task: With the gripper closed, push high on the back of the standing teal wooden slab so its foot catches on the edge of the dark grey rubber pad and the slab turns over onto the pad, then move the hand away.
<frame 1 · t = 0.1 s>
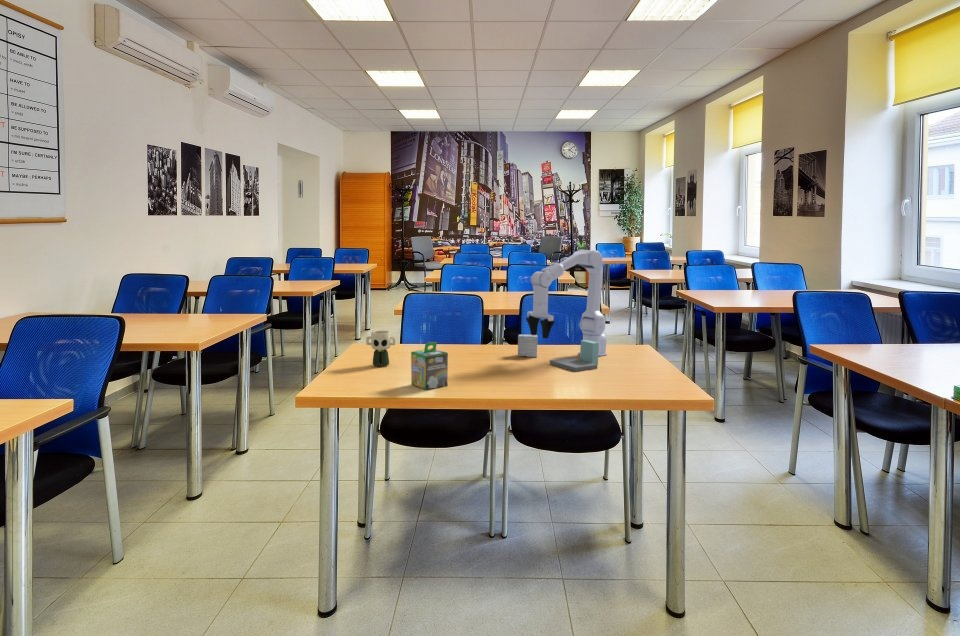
hand: (539, 336, 251), 10 cm above the table, tool pointing down, fingers open, 7 cm apart
character mug: (381, 366, 242), on the table
teal slab: (588, 364, 250), on the table
medicine box: (527, 356, 264), on the table
chalk box: (429, 386, 213), on the table
rubber pad: (573, 366, 246), on the table
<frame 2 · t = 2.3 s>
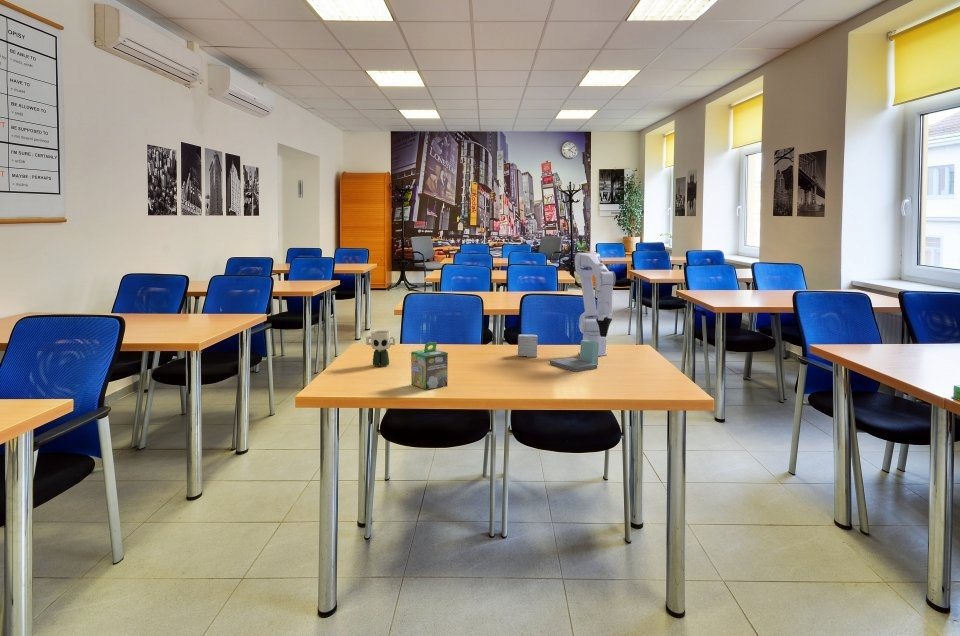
hand: (603, 336, 252), 10 cm above the table, tool pointing down, fingers closed
nothing on the table moved.
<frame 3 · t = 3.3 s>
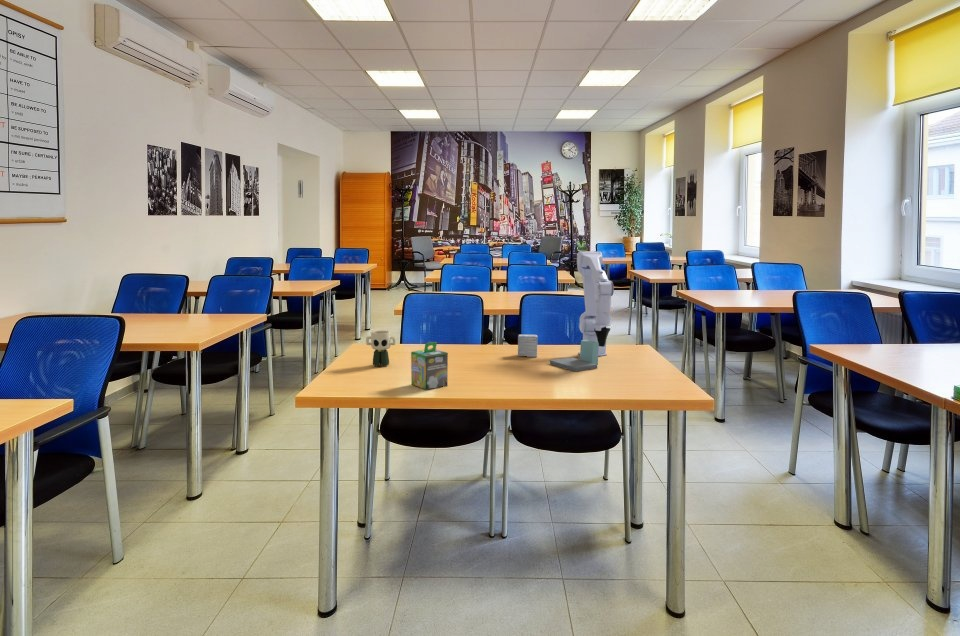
hand: (601, 346, 252), 7 cm above the table, tool pointing down, fingers closed
nothing on the table moved.
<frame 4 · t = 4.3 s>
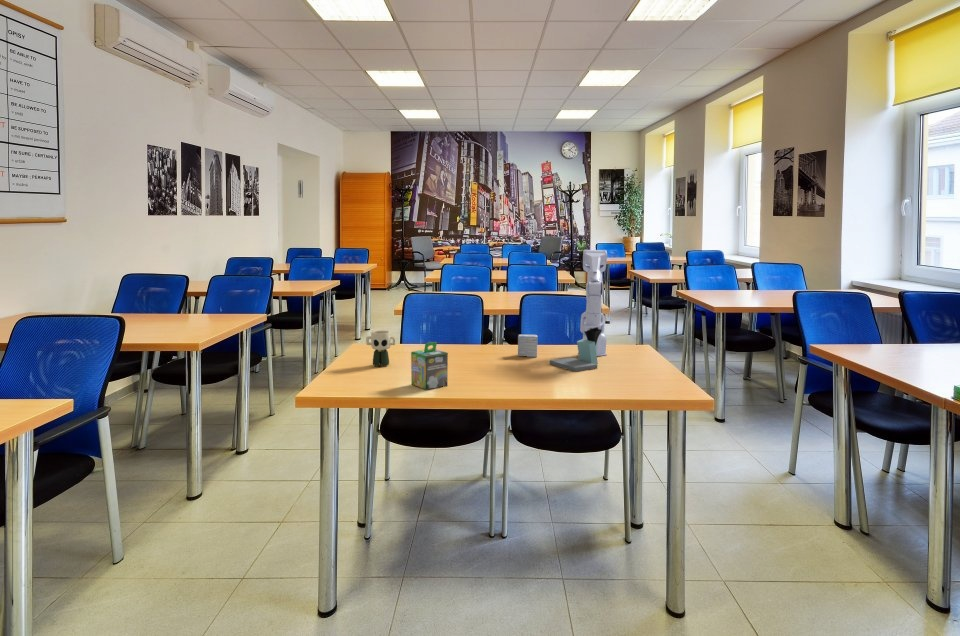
hand: (592, 347, 250), 7 cm above the table, tool pointing down, fingers closed
teal slab: (588, 363, 250), on the table, tilted 13°
everything else where it was.
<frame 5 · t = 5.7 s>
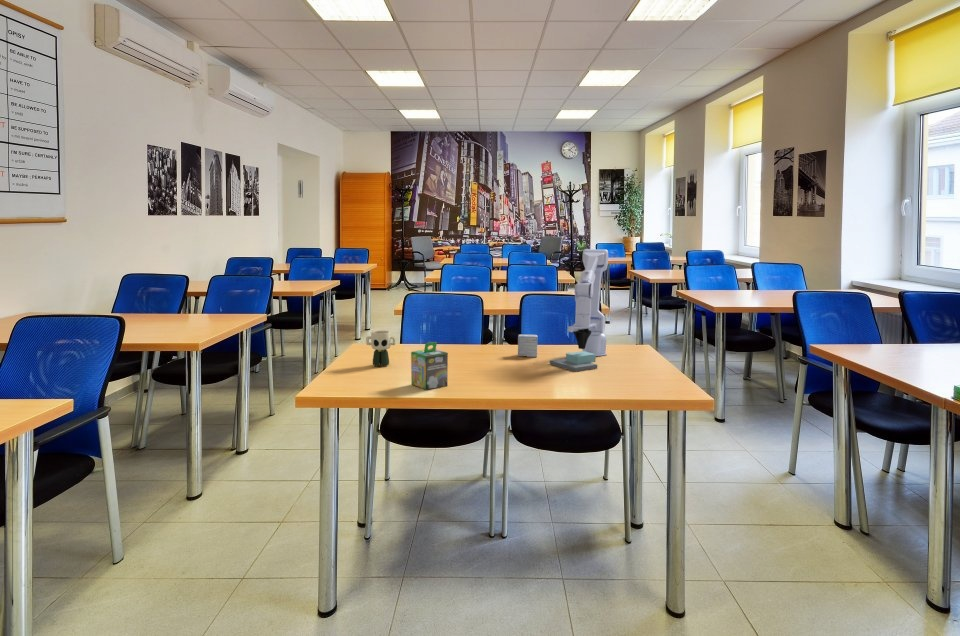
hand: (581, 348, 247), 6 cm above the table, tool pointing down, fingers closed
teal slab: (589, 356, 250), point 3 cm above the table, tilted 90°, touching rubber pad
everything else where it was.
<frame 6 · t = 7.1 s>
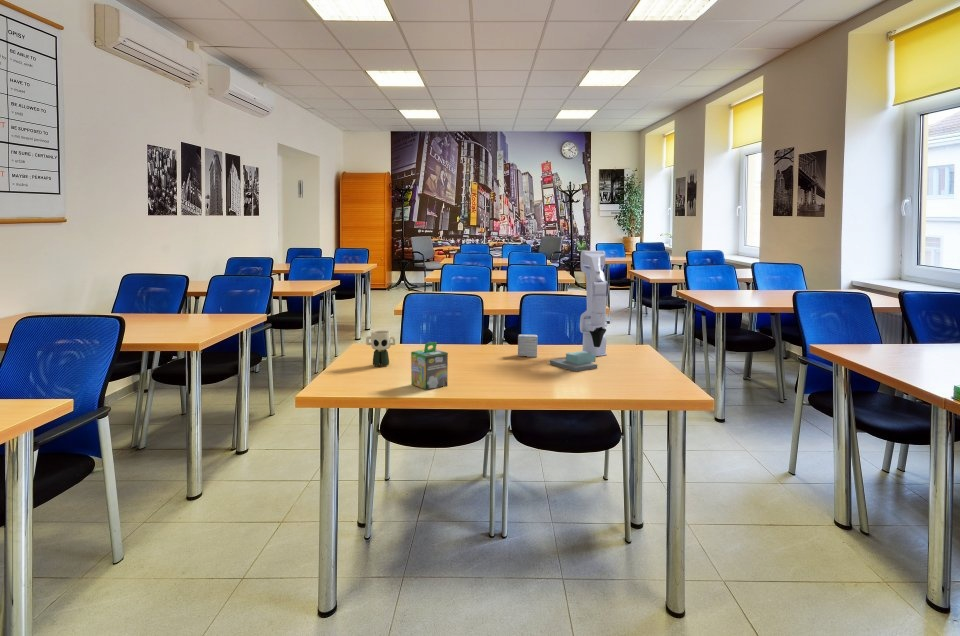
hand: (596, 346, 251), 6 cm above the table, tool pointing down, fingers closed
nothing on the table moved.
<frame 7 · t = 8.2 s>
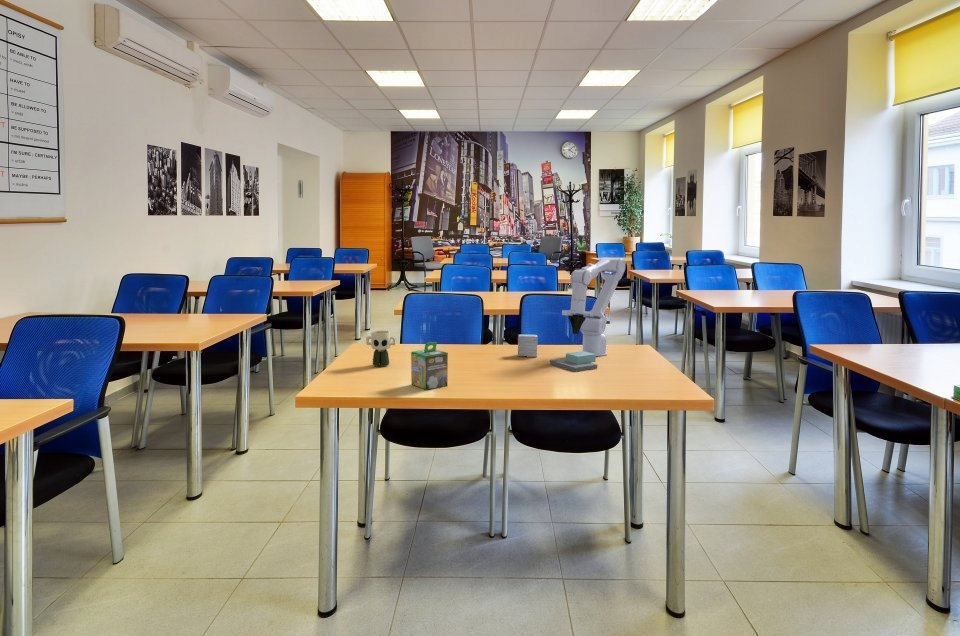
hand: (575, 333, 257), 11 cm above the table, tool pointing down, fingers closed
nothing on the table moved.
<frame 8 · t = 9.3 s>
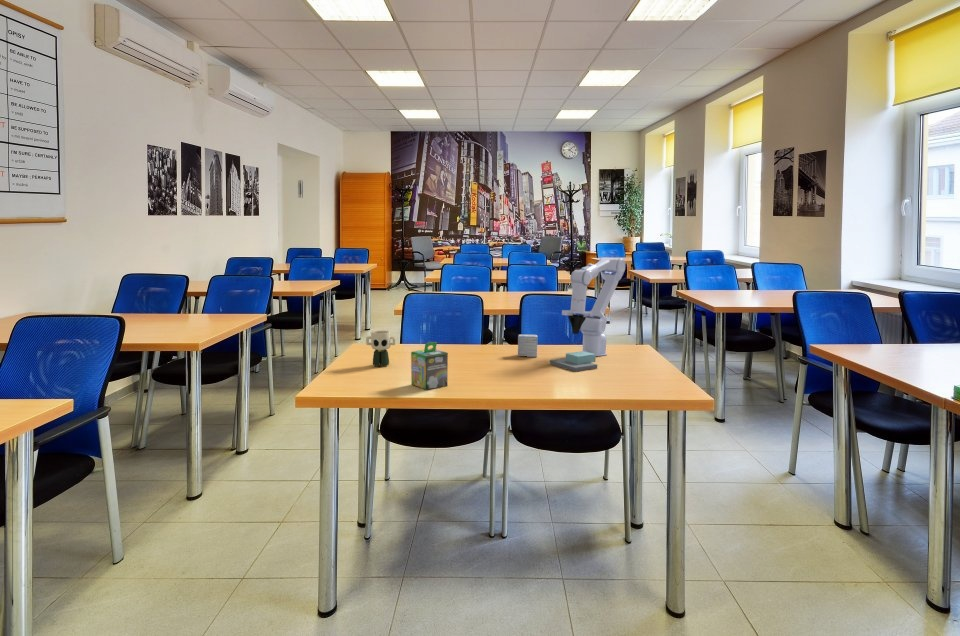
hand: (575, 333, 257), 11 cm above the table, tool pointing down, fingers closed
nothing on the table moved.
at the end: teal slab tilted 90°; teal slab touching rubber pad; teal slab inside the target area (5.7 cm from its centre), point 3.0 cm above the table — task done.
